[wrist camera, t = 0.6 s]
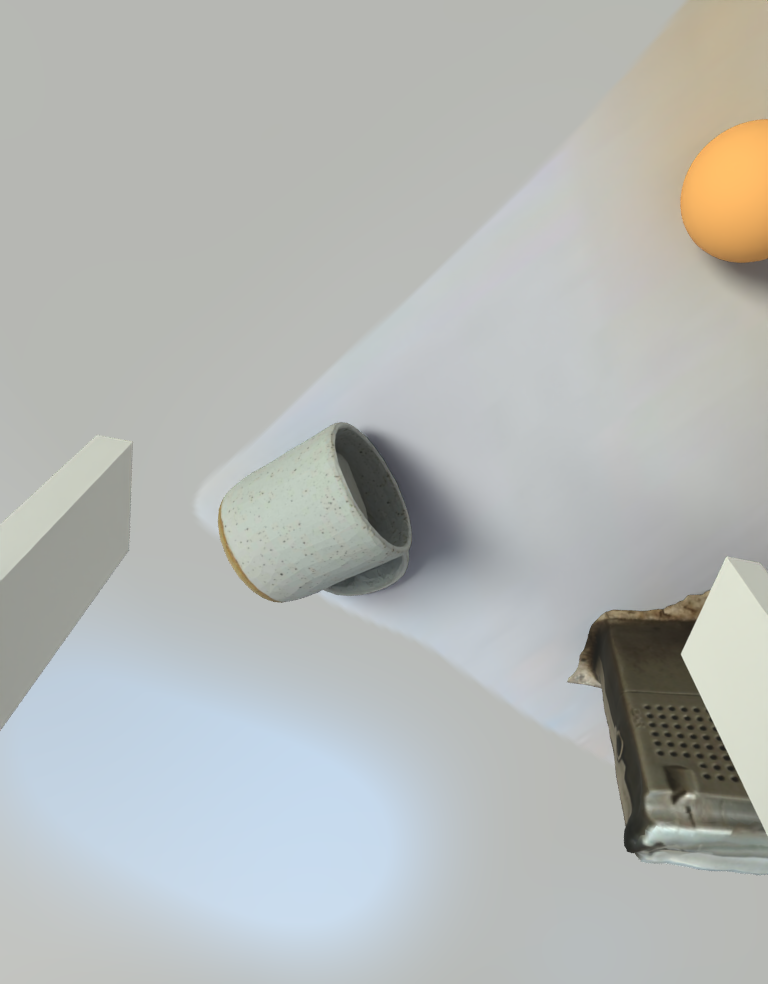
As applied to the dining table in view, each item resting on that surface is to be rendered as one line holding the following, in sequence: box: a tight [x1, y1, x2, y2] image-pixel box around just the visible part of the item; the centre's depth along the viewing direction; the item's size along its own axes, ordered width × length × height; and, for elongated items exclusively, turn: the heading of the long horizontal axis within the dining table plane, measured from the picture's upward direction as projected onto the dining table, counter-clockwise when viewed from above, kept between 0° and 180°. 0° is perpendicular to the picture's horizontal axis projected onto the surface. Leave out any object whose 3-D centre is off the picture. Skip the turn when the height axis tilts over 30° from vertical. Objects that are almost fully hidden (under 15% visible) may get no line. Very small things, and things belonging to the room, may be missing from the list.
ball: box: [681, 119, 768, 263], centre depth 30 cm, size 6×6×6 cm
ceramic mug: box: [218, 422, 412, 603], centre depth 38 cm, size 10×8×7 cm
